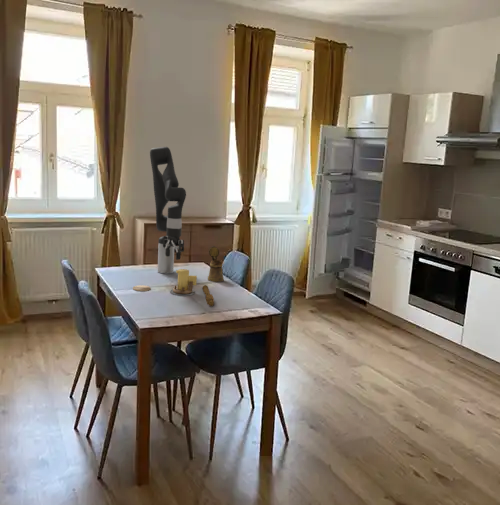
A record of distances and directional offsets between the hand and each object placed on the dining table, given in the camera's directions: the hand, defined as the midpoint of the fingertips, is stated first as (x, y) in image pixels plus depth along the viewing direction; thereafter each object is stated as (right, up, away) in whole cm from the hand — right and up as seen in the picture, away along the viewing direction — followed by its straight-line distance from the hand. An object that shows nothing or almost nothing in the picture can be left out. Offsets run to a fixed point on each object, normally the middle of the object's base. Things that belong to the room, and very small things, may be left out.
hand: (172, 257), depth 283 cm
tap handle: (+18, -21, -5) cm, 28 cm away
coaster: (-17, -16, +3) cm, 23 cm away
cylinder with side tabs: (+6, -16, +2) cm, 17 cm away
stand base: (+5, -18, +2) cm, 19 cm away
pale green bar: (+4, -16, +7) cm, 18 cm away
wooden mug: (+19, -13, +33) cm, 40 cm away
